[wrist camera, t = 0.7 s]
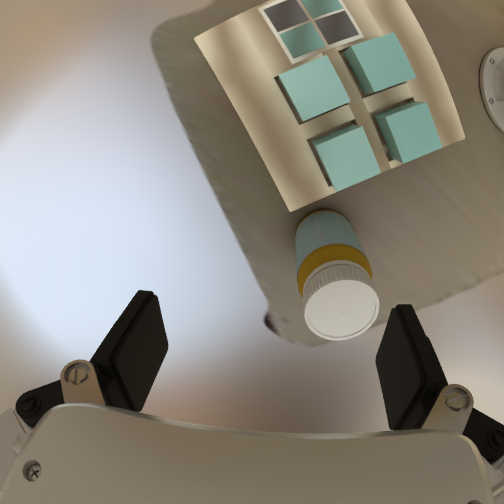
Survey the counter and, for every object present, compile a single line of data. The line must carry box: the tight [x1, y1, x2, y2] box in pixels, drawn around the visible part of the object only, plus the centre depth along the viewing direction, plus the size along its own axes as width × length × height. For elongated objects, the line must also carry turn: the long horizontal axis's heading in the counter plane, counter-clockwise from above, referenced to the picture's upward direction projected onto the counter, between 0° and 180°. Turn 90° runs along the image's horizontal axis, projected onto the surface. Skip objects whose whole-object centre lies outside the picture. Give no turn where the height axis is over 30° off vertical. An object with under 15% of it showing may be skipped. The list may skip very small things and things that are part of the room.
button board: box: [194, 0, 465, 212], centre depth 26 cm, size 22×21×4 cm
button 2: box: [375, 102, 442, 164], centre depth 25 cm, size 5×5×4 cm
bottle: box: [295, 210, 379, 340], centre depth 30 cm, size 7×7×15 cm
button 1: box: [344, 33, 416, 94], centre depth 22 cm, size 5×5×4 cm
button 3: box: [279, 55, 351, 121], centre depth 24 cm, size 5×5×4 cm
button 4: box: [312, 124, 381, 192], centre depth 27 cm, size 5×5×4 cm
